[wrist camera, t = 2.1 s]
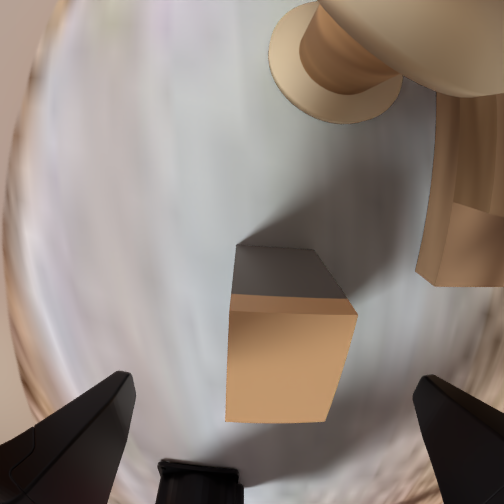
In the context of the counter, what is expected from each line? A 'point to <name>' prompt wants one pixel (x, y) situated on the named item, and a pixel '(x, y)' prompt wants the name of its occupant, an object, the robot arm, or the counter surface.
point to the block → (284, 336)
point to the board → (466, 195)
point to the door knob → (385, 53)
